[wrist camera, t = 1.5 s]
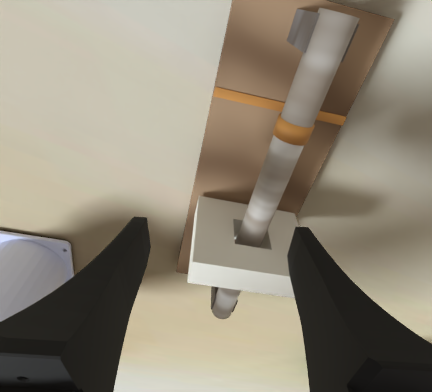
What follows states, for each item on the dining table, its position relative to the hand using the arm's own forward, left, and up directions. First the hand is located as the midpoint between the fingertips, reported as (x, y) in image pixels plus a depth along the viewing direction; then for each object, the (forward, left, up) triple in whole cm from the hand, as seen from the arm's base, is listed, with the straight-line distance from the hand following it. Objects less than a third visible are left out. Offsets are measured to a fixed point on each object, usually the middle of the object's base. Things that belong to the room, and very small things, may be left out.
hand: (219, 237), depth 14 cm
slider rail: (-2, -3, -10) cm, 10 cm away
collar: (-5, -3, -8) cm, 10 cm away
